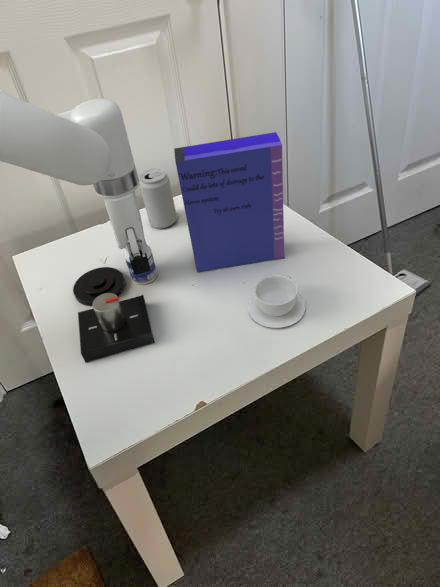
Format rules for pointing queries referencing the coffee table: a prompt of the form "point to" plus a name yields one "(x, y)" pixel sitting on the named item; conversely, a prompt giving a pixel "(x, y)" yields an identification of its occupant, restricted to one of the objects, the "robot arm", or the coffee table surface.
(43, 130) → the robot arm
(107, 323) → the hob knob
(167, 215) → the beverage can
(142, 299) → the black angular base
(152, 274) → the pill bottle
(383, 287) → the coffee table surface
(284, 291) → the teacup
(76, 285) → the burner
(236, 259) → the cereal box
